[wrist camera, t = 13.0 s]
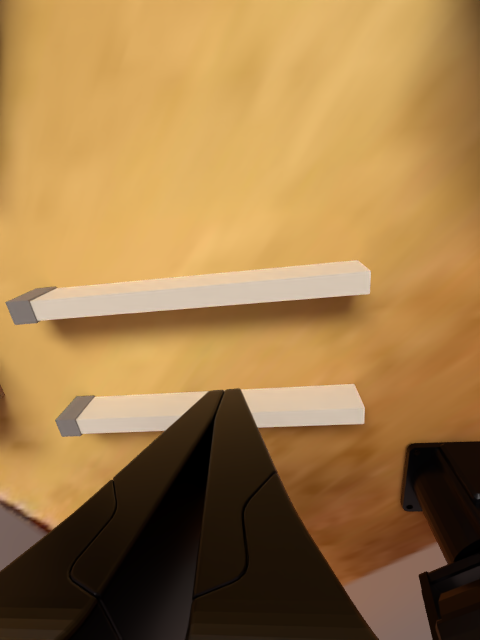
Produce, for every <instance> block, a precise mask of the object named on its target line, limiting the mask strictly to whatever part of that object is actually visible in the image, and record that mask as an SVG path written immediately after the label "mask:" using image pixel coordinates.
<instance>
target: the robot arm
mask: <svg viewBox="0 0 480 640" xmlns="http://www.w3.org/2000/svg"><path fill="white" fill-rule="evenodd" d="M416 450H417V451H416ZM401 505H402V507H403V509H404V510H405V511H423V513H424V515H425V517H426V519H427V521H428V524H429V526H430V528H431V530H432V532H433V534H434V536H435V538H436V540H437V542H438V545H439V547H440V549H441V551H442V553H443V555H444V557H445V559H446V561H447V563H448V565H446V566H443V567H441V568H438V569H436V570H433V571H431V572H429V573H428V572H424V573H421V574H419V579H420V584H421V588H422V595H423V600H424V603H425V608H426V613H427V617H428V621H429V625H430V630H431V634H432V638H433V640H480V442H445V443H414V444H411V445H409V446H408V447H407V453H406V462H405V470H404V479H403V488H402V497H401ZM0 640H379V639H378V638H377V636H376V635H375V634H374V633H373V631H372V630H371V628H370V627H369V626H368V624H367V623H366V621H365V620H364V619H363V617H362V616H361V614H360V613H359V611H358V610H357V608H356V607H355V605H354V604H353V602H352V601H351V599H350V597H349V596H348V594H347V593H346V591H345V589H344V588H343V586H342V585H341V583H340V582H339V580H338V578H337V577H336V575H335V574H334V572H333V570H332V569H331V567H330V566H329V564H328V563H327V561H326V559H325V558H324V556H323V555H322V553H321V552H320V550H319V548H318V547H317V545H316V544H315V542H314V540H313V539H312V537H311V536H310V534H309V533H308V531H307V529H306V527H305V526H304V524H303V522H302V520H301V519H300V517H299V515H298V514H297V512H296V510H295V508H294V506H293V504H292V502H291V500H290V498H289V496H288V494H287V492H286V490H285V488H284V486H283V484H282V481H281V479H280V477H279V475H278V474H277V470H276V468H275V466H274V463H273V461H272V459H271V457H270V454H269V452H268V450H267V448H266V445H265V443H264V441H263V438H262V436H261V434H260V432H259V429H258V427H257V425H256V423H255V420H254V418H253V416H252V413H251V411H250V409H249V407H248V404H247V402H246V400H245V398H244V395H243V393H242V391H241V389H227V390H225V391H224V390H213V391H209V392H207V393H206V394H205V395H204V396H203V397H202V398H201V399H200V400H198V401H197V402H196V403H195V404H194V405H193V406H192V407H191V408H190V409H188V410H187V411H186V412H185V413H184V414H183V415H182V416H181V417H180V418H179V419H177V420H176V421H175V422H174V423H173V424H172V425H171V426H170V427H169V428H168V429H166V430H165V431H164V432H163V433H162V434H161V435H160V436H159V437H158V438H156V439H155V440H154V441H153V442H152V443H151V444H150V445H149V446H148V447H147V448H145V449H144V450H143V451H142V452H141V453H140V454H139V455H138V456H137V457H136V458H134V459H133V460H132V461H131V462H130V463H129V464H128V465H127V466H126V467H124V468H123V469H122V470H121V471H120V472H119V473H118V474H117V475H116V476H115V477H114V478H113V480H110V481H109V482H108V483H107V484H106V485H104V486H103V487H102V488H101V489H100V490H99V491H98V492H97V493H96V494H94V495H93V496H92V497H91V498H90V499H89V500H88V501H86V502H85V503H84V504H83V505H82V506H81V507H80V508H78V509H77V510H76V511H75V512H74V513H73V514H71V515H70V516H69V517H68V518H66V519H65V520H64V521H63V522H62V523H60V524H59V525H58V526H57V527H55V528H54V529H53V530H52V531H51V532H49V533H48V534H47V535H46V536H44V537H43V538H42V539H41V540H39V541H38V542H37V543H36V544H35V545H33V546H32V547H30V549H28V550H27V551H25V552H24V553H23V554H22V555H20V556H19V557H18V558H17V559H15V560H14V561H13V562H12V563H10V564H9V565H8V566H6V567H5V568H4V569H3V570H1V571H0Z"/></svg>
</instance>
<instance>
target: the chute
mask: <svg viewBox="0 0 480 640" xmlns="http://www.w3.org/2000/svg"><path fill="white" fill-rule="evenodd" d="M370 279H371V271H370V270H369V269H368V268H367V267H365V266H364V265H363V264H362V263H361V262H359V261H358V260H353V261H343V262H332V263H321V264H311V265H300V266H289V267H278V268H268V269H257V270H246V271H235V272H225V273H214V274H203V275H193V276H182V277H171V278H160V279H150V280H139V281H128V282H118V283H107V284H96V285H85V286H75V287H64V288H56V287H47V288H37V289H34V290H32V291H29V292H27V293H25V294H23V295H21V296H18V297H16V298H14V299H12V300H9V301H7V302H5V303H6V305H7V307H8V310H9V312H10V314H11V317H12V319H13V322H14V324H15V325H19V324H31V323H38V322H39V321H41V320H53V319H66V318H78V317H90V316H103V315H115V314H128V313H140V312H152V311H165V310H177V309H189V308H202V307H214V306H226V305H239V304H251V303H264V302H276V301H288V300H301V299H313V298H325V297H338V296H350V295H362V294H370ZM224 391H225V390H224ZM241 391H242V393H243V395H244V398H245V400H246V402H247V404H248V407H249V409H250V411H251V413H252V416H253V418H254V420H255V423H256V425H257V427H258V428H260V427H288V426H317V425H345V424H364V414H365V407H364V405H363V403H362V400H361V398H360V396H359V394H358V391H357V389H356V387H355V384H343V385H322V386H302V387H282V388H262V389H241ZM207 392H209V391H201V392H181V393H160V394H140V395H120V396H100V397H94V396H77V397H76V398H75V399H74V400H73V401H72V402H71V403H70V404H69V405H68V407H67V408H66V409H65V410H64V411H63V412H62V413H61V414H60V415H59V417H58V418H57V419H56V420H55V421H56V424H57V426H58V428H59V431H60V433H61V435H62V437H65V436H81V435H82V434H89V433H117V432H146V431H165V430H166V429H168V428H169V427H170V426H171V425H172V424H173V423H174V422H175V421H176V420H177V419H179V418H180V417H181V416H182V415H183V414H184V413H185V412H186V411H187V410H188V409H190V408H191V407H192V406H193V405H194V404H195V403H196V402H197V401H198V400H200V399H201V398H202V397H203V396H204V395H205V394H206V393H207Z"/></svg>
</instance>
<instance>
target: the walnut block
mask: <svg viewBox="0 0 480 640" xmlns="http://www.w3.org/2000/svg"><path fill="white" fill-rule="evenodd" d="M4 395H5V394H4V392H3V390H2V388H1V386H0V398H2V397H3V396H4Z"/></svg>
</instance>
